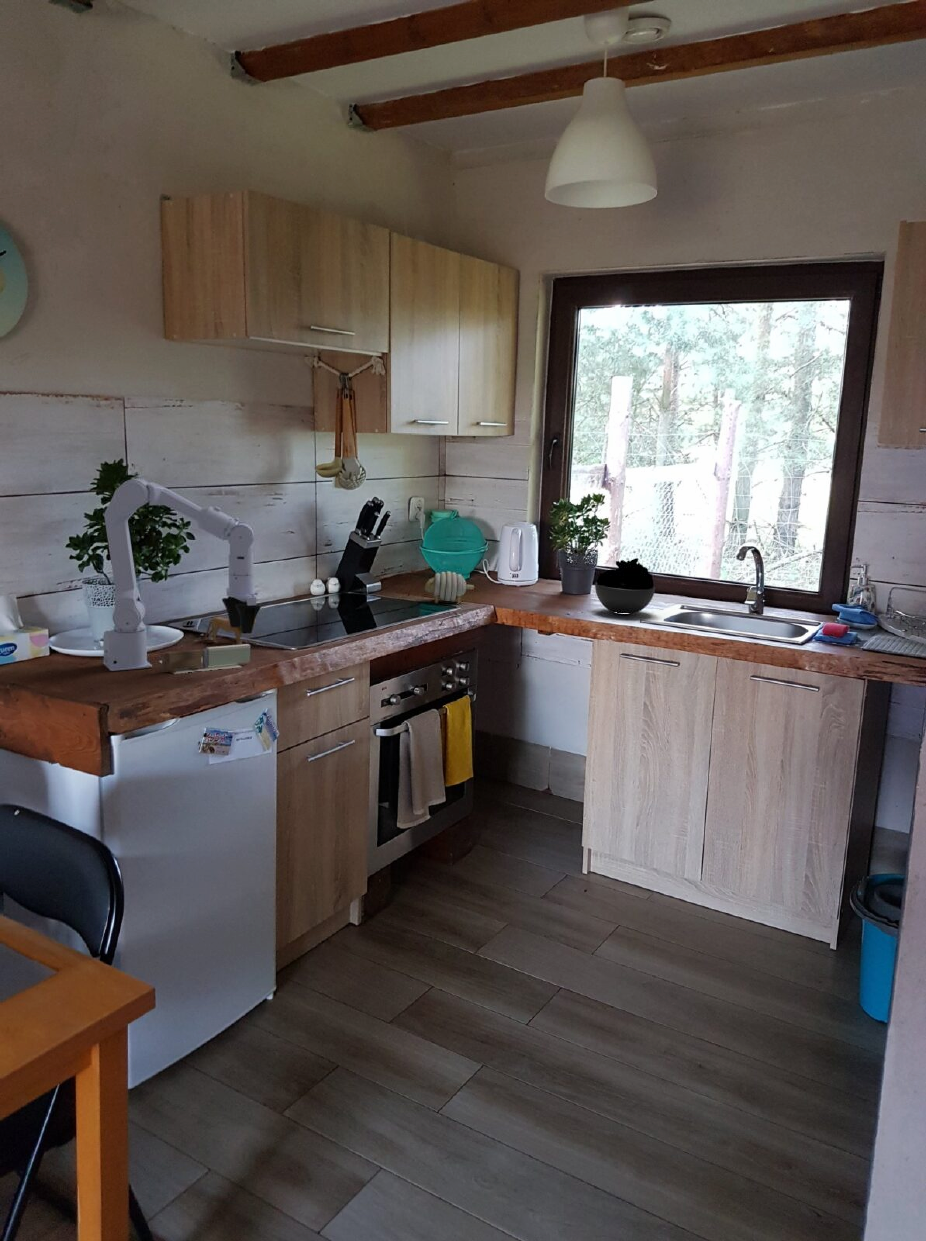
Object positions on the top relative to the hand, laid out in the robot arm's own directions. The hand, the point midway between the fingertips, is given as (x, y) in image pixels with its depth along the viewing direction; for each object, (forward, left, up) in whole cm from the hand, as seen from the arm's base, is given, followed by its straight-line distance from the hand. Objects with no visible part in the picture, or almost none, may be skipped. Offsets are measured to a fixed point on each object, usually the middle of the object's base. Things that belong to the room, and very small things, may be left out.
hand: (241, 630), depth 227 cm
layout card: (-9, +5, -9) cm, 13 cm away
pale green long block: (-4, +1, -8) cm, 9 cm away
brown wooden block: (-14, +1, -9) cm, 17 cm away
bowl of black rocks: (+140, +19, -9) cm, 142 cm away
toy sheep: (+94, +57, -9) cm, 110 cm away
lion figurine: (+6, +26, -9) cm, 28 cm away
